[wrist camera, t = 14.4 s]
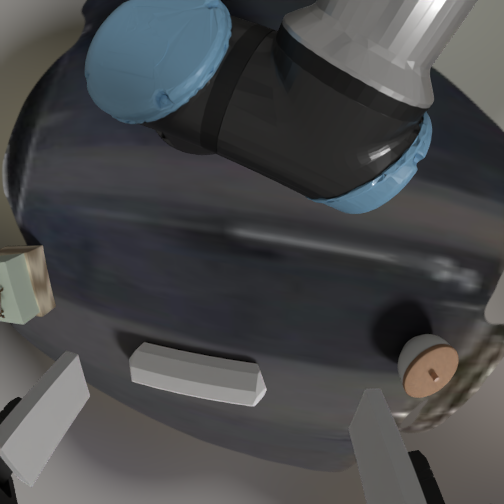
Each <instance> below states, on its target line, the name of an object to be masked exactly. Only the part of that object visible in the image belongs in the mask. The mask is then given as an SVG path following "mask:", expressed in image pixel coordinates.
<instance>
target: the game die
mask: <svg viewBox="0 0 504 504" xmlns="http://www.w3.org/2000/svg"><path fill="white" fill-rule="evenodd" d="M3 289H4V288H1V289H0V317H2V318H5V316H4V315H2V313H3V312H4V311H3V310H1V292H2V291H3Z"/></svg>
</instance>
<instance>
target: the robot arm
mask: <svg viewBox="0 0 504 504" xmlns="http://www.w3.org/2000/svg"><path fill="white" fill-rule="evenodd" d="M476 2H477V0H317V1H316V2H315V3H314V4H313V5H311V6H308V7H305V8H302V9H299V10H296V11H293V12H290V13H288V14H286V15H285V16H284V18H283V20H282V23H281V25H280V28H279V30H278V31H276V30H273V29H270V28H267V27H265V26H262V25H259V24H256V23H253V22H250V21H247V20H243V19H240V18H237V17H234V16H230V13H229V11H228V9H227V7H226V6H225V5H224V4H223V3H222V2H221V0H129V1H127V2H124V3H122V4H121V5H120V6H119V7H118V8H116V9H115V10H114V11H113V12H112V13H111V14H110V15H109V16H108V17H107V19H106V20H105V21H104V22H103V23H102V25H101V26H100V28H99V29H98V31H97V32H96V34H95V36H94V38H93V40H92V42H91V44H90V47H89V50H88V53H87V57H86V62H85V77H86V81H87V89H88V92H89V94H90V96H91V98H92V99H93V101H94V102H95V104H96V105H97V106H98V107H99V108H100V109H102V110H103V111H105V112H106V113H108V114H110V115H112V117H113V118H115V119H117V120H118V121H120V122H124V123H128V124H136V123H137V124H140V125H143V126H146V127H149V128H152V129H154V130H156V132H157V133H158V135H159V136H160V137H161V138H162V139H163V140H164V141H165V142H166V143H167V144H169V145H170V146H172V147H173V148H175V149H177V150H180V151H182V152H185V153H190V154H196V155H210V154H218V155H220V156H222V157H225V158H227V159H229V160H231V161H233V162H236V163H238V164H240V165H242V166H244V167H247V168H249V169H251V170H253V171H255V172H257V173H259V174H262V175H264V176H266V177H268V178H270V179H272V180H274V181H276V182H278V183H280V184H282V185H284V186H286V187H288V188H290V189H292V190H294V191H296V192H298V193H300V194H302V195H304V196H305V197H306V198H308V199H310V200H313V201H314V202H318V203H324V204H326V205H328V206H331V207H333V208H335V209H337V210H340V211H342V212H345V213H350V214H359V213H365V212H368V211H371V210H374V209H376V208H378V207H380V206H381V205H383V204H385V203H386V202H388V201H389V200H390V199H392V198H393V197H394V196H395V195H396V194H398V193H399V192H400V191H401V190H402V189H403V188H404V187H405V186H406V184H407V183H408V182H409V181H410V180H411V178H412V177H413V176H414V174H415V173H416V171H417V167H416V164H417V162H418V161H420V160H421V159H423V158H425V156H426V153H427V151H428V148H429V146H430V142H431V135H432V125H431V120H430V117H429V116H428V114H427V112H426V111H427V110H428V109H429V107H430V106H431V105H432V103H433V101H434V96H433V91H432V86H431V81H430V68H431V66H432V65H433V63H434V62H435V60H436V59H437V58H438V56H439V55H440V54H441V52H442V51H443V49H444V48H445V47H446V45H447V44H448V42H449V41H450V39H451V38H452V37H453V35H454V34H455V32H456V31H457V30H458V28H459V27H460V25H461V24H462V22H463V21H464V20H465V18H466V17H467V15H468V14H469V12H470V11H471V9H472V8H473V6H474V5H475V3H476ZM89 397H90V394H89V391H88V388H87V385H86V381H85V378H84V374H83V371H82V367H81V364H80V360H79V356H78V354H74V353H71V352H68V351H65V352H64V353H63V355H62V356H61V357H60V358H59V359H58V360H57V361H56V362H55V363H54V364H53V365H52V366H51V367H50V368H49V370H48V371H47V372H46V373H45V374H44V375H43V376H42V377H41V378H40V380H39V381H38V382H37V383H36V384H35V385H34V386H33V387H32V388H31V390H30V391H29V392H28V393H27V394H26V395H25V396H24V397H23V398H20V397H17V398H15V399H14V400H12V401H10V402H9V403H8V404H7V405H6V406H5V407H4V410H2V411H1V412H0V504H18V503H17V498H16V494H15V489H14V484H13V480H12V477H11V474H12V473H14V474H15V475H16V477H17V478H18V479H19V480H21V481H22V482H24V483H26V484H27V485H29V486H31V487H32V486H33V485H34V483H35V481H36V479H37V478H38V476H39V475H40V473H41V471H42V470H43V468H44V466H45V465H46V463H47V461H48V460H49V458H50V457H51V455H52V453H53V452H54V450H55V449H56V447H57V446H58V444H59V442H60V441H61V439H62V438H63V436H64V435H65V433H66V432H67V430H68V428H69V427H70V425H71V424H72V422H73V421H74V419H75V418H76V416H77V415H78V413H79V412H80V410H81V409H82V407H83V406H84V404H85V403H86V401H87V400H88V398H89ZM348 429H349V433H350V437H351V440H352V444H353V448H354V452H355V456H356V460H357V464H358V468H359V473H360V477H361V481H362V485H363V489H364V494H365V498H366V503H367V504H445V502H444V500H443V497H442V495H441V492H440V490H439V487H438V485H437V482H436V480H435V478H434V477H433V476H434V475H433V473H432V470H430V466H429V463H428V461H427V459H426V457H425V456H424V455H423V454H422V453H421V452H420V451H419V450H417V451H411V452H407V450H406V447H405V445H404V442H403V440H402V438H401V435H400V433H399V430H398V428H397V425H396V423H395V421H394V418H393V416H392V414H391V411H390V409H389V407H388V405H387V402H386V400H385V398H384V395H383V393H382V391H381V389H380V388H378V389H365V390H364V393H363V396H362V398H361V401H360V403H359V405H358V408H357V410H356V413H355V415H354V417H353V419H352V422H351V424H350V426H349V428H348Z"/></svg>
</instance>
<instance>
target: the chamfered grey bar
mask: <svg viewBox="0 0 504 504" xmlns="http://www.w3.org/2000/svg"><path fill="white" fill-rule="evenodd" d="M141 351H142V352H141ZM145 352H146V353H145ZM149 353H150V354H149ZM153 354H154V355H153ZM184 361H185V362H184ZM129 364H130V372H131V379H132V382H136V383H139V384H143V385H147V386H151V387H155V388H158V389H163V390H167V391H171V392H175V393H180V394H184V395H189V396H194V397H199V398H204V399H209V400H215V401H221V402H227V403H233V404H240V405H247V406H255V405H256V404H257V403H258V402H259V401H260V400H261V399H262V397H263V396H264V394H265V392H266V390H267V389H266V386H265V383H264V381H263V378H262V375H261V372H260V369H259V367H258V364H256V363H249V362H242V361H235V360H229V359H223V358H218V357H212V356H206V355H201V354H196V353H191V352H186V351H181V350H176V349H172V348H167V347H163V346H159V345H154V344H150V343H146V342H144V343H143V344H142V345H140V346H139V347H138V348H137V349H136V350H135V352H134V353H133V354H132V356H131V357H130V358H129ZM204 365H205V366H204ZM215 367H216V368H215Z"/></svg>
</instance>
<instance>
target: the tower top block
mask: <svg viewBox="0 0 504 504" xmlns="http://www.w3.org/2000/svg"><path fill="white" fill-rule="evenodd" d="M1 288H4V289H3V291H2V292H1V310H3V311H4V312H3V313H2V315H4V316H5V318H2V317H0V321H4V322H10V323H17V324H25V323H27V322H28V321H29V320H30V319H32V318H33V317H34V316H36V315H37V314H38V313H40V310H39V307H38V304H37V301H36V298H35V294H34V291H33V287H32V284H31V280H30V276H29V272H28V268H27V264H26V260H25V256H24V253H21V254H11V255H2V256H0V289H1Z"/></svg>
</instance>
